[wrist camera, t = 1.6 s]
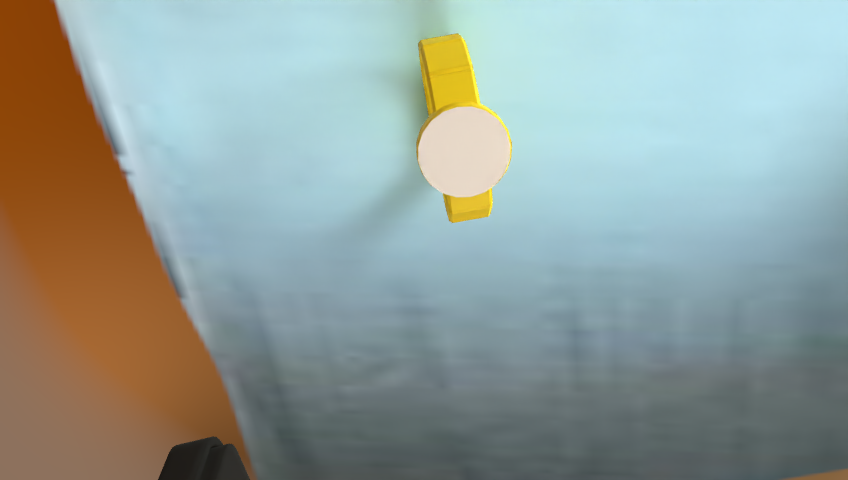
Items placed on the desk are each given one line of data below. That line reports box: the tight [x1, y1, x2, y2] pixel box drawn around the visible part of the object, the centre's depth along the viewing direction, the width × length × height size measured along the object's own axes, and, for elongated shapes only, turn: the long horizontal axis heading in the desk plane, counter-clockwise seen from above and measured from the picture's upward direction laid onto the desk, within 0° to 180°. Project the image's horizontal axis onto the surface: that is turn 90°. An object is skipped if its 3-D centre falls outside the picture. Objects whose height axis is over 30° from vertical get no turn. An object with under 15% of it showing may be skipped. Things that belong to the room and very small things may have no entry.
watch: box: [416, 33, 512, 223], centre depth 22 cm, size 6×3×6 cm, turn 10°
